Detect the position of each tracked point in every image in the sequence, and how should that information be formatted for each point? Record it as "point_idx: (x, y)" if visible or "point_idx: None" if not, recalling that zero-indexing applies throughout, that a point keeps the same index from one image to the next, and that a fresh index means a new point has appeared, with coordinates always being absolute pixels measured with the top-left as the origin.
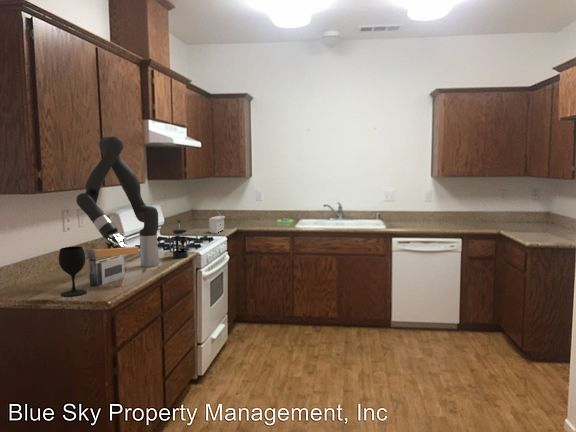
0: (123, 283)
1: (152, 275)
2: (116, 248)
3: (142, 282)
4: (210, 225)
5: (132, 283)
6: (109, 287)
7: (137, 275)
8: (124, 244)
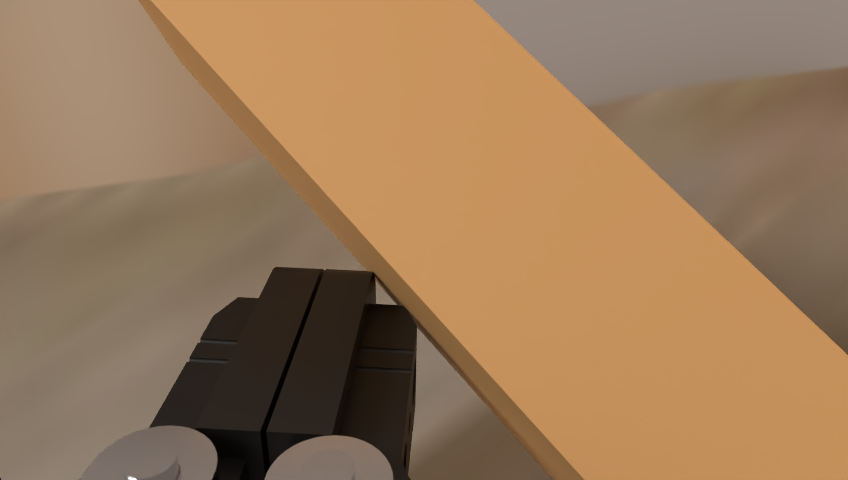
0: None
1: (23, 240)
2: (742, 457)
3: None
4: None
5: None
6: None
7: (47, 457)
8: (93, 477)
